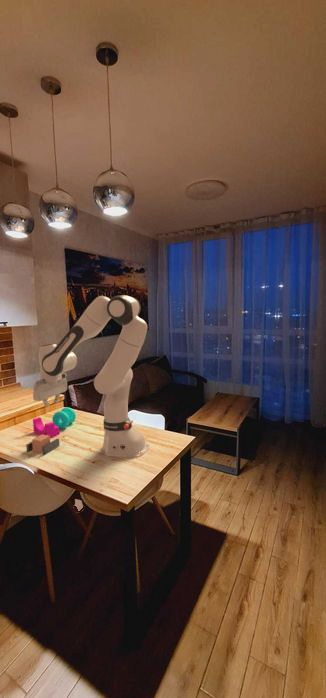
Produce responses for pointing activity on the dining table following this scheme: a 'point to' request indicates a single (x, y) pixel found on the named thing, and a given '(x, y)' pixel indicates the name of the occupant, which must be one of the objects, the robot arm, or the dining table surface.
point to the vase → (78, 504)
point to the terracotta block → (40, 443)
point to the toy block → (45, 428)
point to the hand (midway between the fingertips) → (51, 404)
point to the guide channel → (45, 448)
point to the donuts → (64, 417)
